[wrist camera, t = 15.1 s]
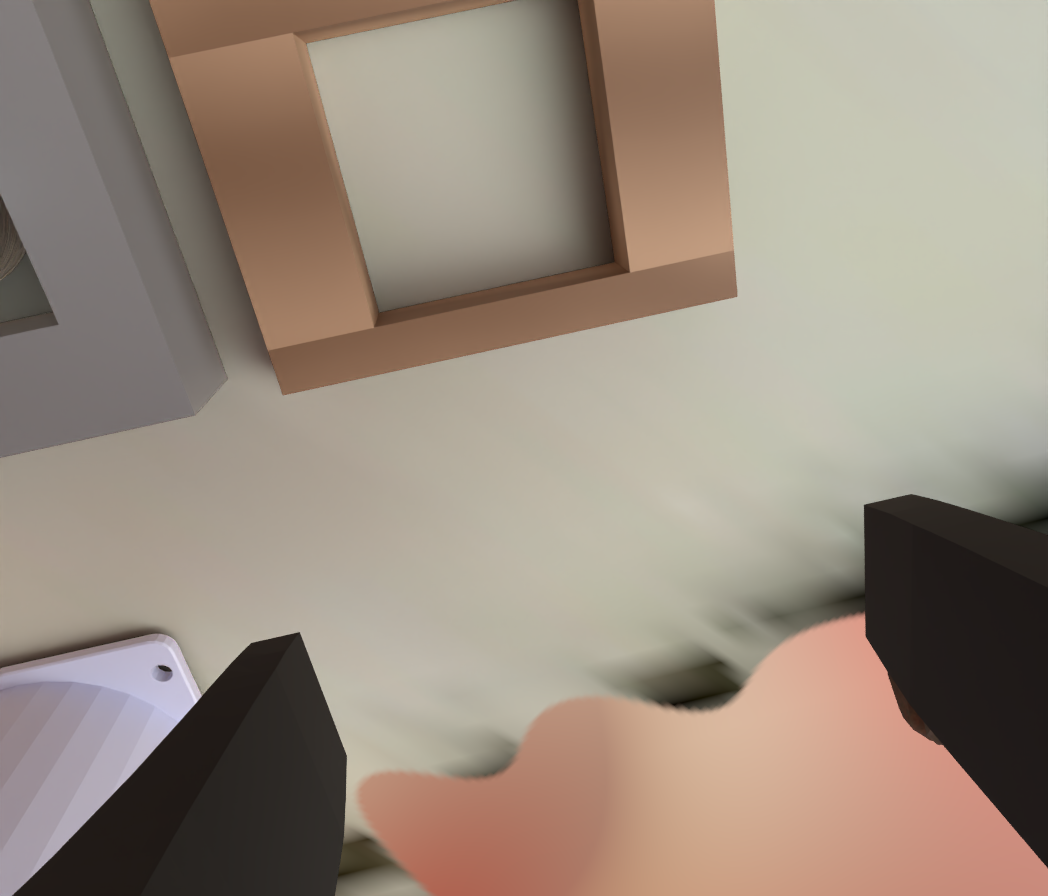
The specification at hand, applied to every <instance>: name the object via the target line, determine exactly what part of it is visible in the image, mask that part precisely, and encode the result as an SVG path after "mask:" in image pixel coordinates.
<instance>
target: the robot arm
mask: <svg viewBox="0 0 1048 896" xmlns="http://www.w3.org/2000/svg"><path fill="white" fill-rule="evenodd" d="M864 539H865V621H866V638H867V639H868V641H869V642H870V644H871V646H872V647H873V649H874V650H875V652H876V653H877V655H878V657H879V659H880V660H881V662H882V663H883V665H884V667H885V668H886V670H887V671H888V673H889V675H890V676H891V677H892V679H893V680H894V682H895V683H896V685H897V686H898V688H899V689H900V691H901V692H902V694H903V695H904V697H905V698H906V700H907V701H908V703H909V704H910V706H911V707H912V708H913V709H914V710H915V712H916V713H917V714H918V715H919V717H920V718H921V719H922V720H923V722H924V723H925V724H926V725H927V726H928V727H929V729H930V730H931V731H932V732H933V733H934V735H935V736H936V737H937V738H938V739H939V741H940V742H941V743H942V744H943V745H944V747H945V748H946V749H947V750H948V751H949V752H950V754H951V755H952V756H953V757H954V759H955V760H956V761H957V762H958V763H959V764H960V766H961V767H962V768H963V769H964V770H965V771H966V772H967V774H968V775H969V776H970V777H971V778H972V780H973V781H974V782H975V783H976V784H977V785H978V787H979V788H980V789H981V790H982V791H983V793H984V794H985V795H986V796H987V797H988V798H989V799H990V801H991V802H992V803H993V804H994V805H995V806H996V808H997V809H998V810H999V811H1000V812H1001V814H1002V815H1003V816H1004V817H1005V818H1006V819H1007V821H1008V822H1009V823H1010V824H1011V825H1012V827H1013V828H1014V829H1015V830H1016V831H1017V832H1018V834H1019V835H1020V836H1021V837H1022V838H1023V839H1024V840H1025V842H1026V843H1027V844H1028V845H1029V846H1030V848H1031V849H1032V850H1033V851H1034V852H1035V854H1036V855H1037V856H1038V857H1039V858H1040V859H1041V861H1042V862H1043V863H1044V864H1045V865H1046V866H1047V868H1048V535H1046V534H1043V533H1040V532H1037V531H1034V530H1031V529H1027V528H1024V527H1021V526H1018V525H1015V524H1012V523H1009V522H1006V521H1003V520H1000V519H996V518H993V517H990V516H987V515H984V514H981V513H978V512H974V511H971V510H968V509H965V508H961V507H958V506H955V505H951V504H948V503H944V502H941V501H937V500H933V499H930V498H925V497H921V496H917V495H912V494H910V495H905V496H901V497H897V498H892V499H888V500H883V501H879V502H874V503H870V504H866V505H864ZM157 665H165V666H167V667H169V668H170V669H171V670H172V671H171V672H165V671H163V670H160V669H159V667H158V666H157ZM346 766H347V755H346V753H345V750H344V747H343V745H342V742H341V740H340V737H339V734H338V732H337V729H336V726H335V724H334V721H333V718H332V716H331V713H330V711H329V708H328V705H327V703H326V700H325V697H324V695H323V692H322V690H321V687H320V684H319V682H318V679H317V676H316V674H315V671H314V669H313V666H312V663H311V661H310V658H309V655H308V653H307V650H306V648H305V645H304V642H303V640H302V637H301V634H300V632H299V633H294V634H290V635H285V636H281V637H276V638H272V639H268V640H263V641H259V642H254V643H251V644H250V645H249V646H248V647H247V648H246V649H245V650H244V651H243V652H242V653H241V654H240V655H239V656H238V657H237V658H236V659H235V660H234V661H233V662H232V663H231V664H230V665H229V667H228V668H227V669H226V670H225V671H224V672H223V673H222V674H221V675H220V676H219V678H218V679H217V680H216V681H215V682H214V683H213V684H212V685H211V687H210V688H209V689H208V690H207V691H206V692H205V693H204V694H203V696H202V695H201V693H200V691H199V689H198V687H197V684H196V682H195V680H194V678H193V676H192V674H191V672H190V669H189V667H188V665H187V663H186V661H185V659H184V656H183V654H182V652H181V650H180V648H179V646H178V644H177V643H176V641H175V640H174V639H172V638H171V637H169V636H168V635H164V634H150V635H145V636H141V637H136V638H132V639H127V640H123V641H118V642H114V643H110V644H105V645H101V646H96V647H92V648H87V649H83V650H78V651H74V652H69V653H65V654H61V655H56V656H52V657H47V658H43V659H38V660H34V661H29V662H25V663H20V664H16V665H12V666H7V667H3V668H0V896H335V891H336V884H337V878H338V872H339V865H340V859H341V852H342V845H343V839H344V823H345V803H346Z"/></svg>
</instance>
